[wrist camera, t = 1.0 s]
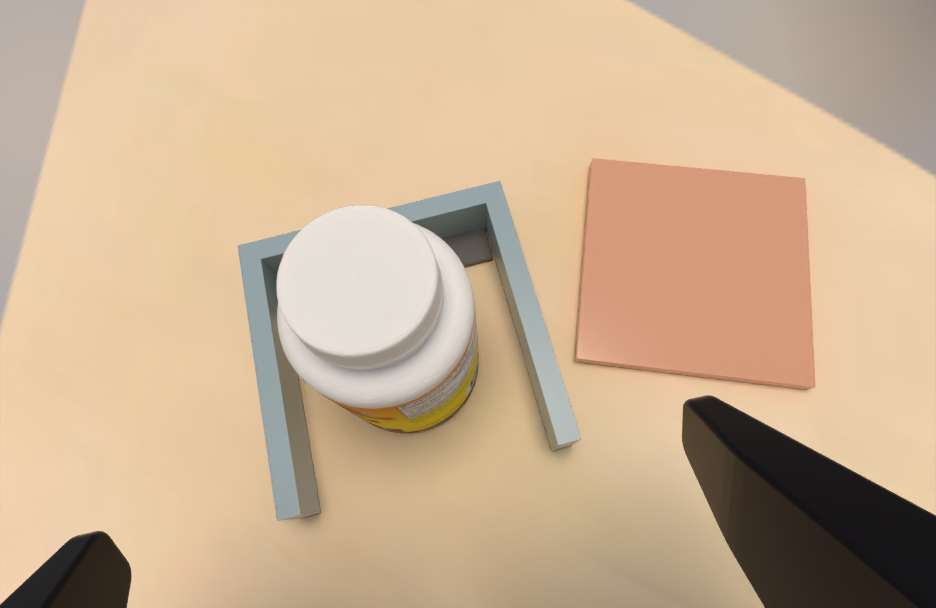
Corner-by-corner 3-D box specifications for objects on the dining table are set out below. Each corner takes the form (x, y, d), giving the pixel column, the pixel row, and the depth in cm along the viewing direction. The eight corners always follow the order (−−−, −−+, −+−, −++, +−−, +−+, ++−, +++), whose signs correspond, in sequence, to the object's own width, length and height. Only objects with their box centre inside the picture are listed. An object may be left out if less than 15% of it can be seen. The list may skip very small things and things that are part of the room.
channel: (571, 445, 23) (580, 438, 20) (300, 518, 22) (277, 520, 20) (499, 209, 26) (500, 180, 24) (261, 269, 25) (237, 245, 23)
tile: (807, 389, 23) (815, 386, 22) (574, 361, 24) (576, 358, 23) (798, 185, 26) (805, 178, 25) (590, 165, 26) (592, 158, 26)
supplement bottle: (317, 349, 24) (201, 249, 15) (430, 276, 25) (392, 136, 15) (388, 465, 23) (312, 440, 13) (507, 383, 24) (518, 302, 14)
